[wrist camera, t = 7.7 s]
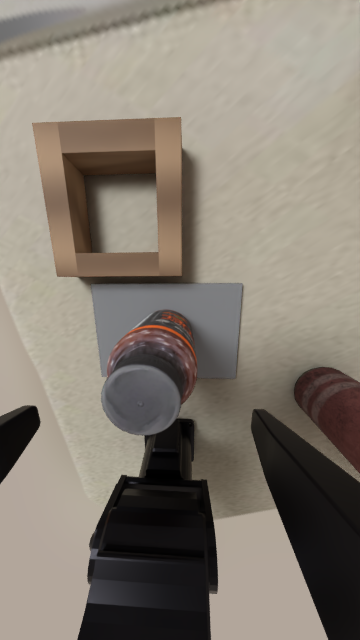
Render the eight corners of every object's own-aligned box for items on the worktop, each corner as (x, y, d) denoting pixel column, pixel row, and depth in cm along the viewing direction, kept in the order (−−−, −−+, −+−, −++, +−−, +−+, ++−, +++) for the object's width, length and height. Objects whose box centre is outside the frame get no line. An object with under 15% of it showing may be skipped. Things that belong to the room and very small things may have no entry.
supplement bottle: (203, 325, 19) (228, 388, 8) (175, 367, 20) (164, 471, 9) (156, 297, 18) (113, 322, 7) (131, 342, 20) (61, 420, 9)
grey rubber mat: (233, 375, 21) (235, 378, 20) (104, 373, 21) (101, 376, 21) (240, 283, 18) (242, 283, 18) (93, 283, 19) (90, 284, 18)
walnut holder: (182, 276, 18) (181, 275, 16) (77, 276, 19) (57, 276, 16) (181, 147, 16) (180, 117, 13) (59, 151, 16) (32, 122, 13)
